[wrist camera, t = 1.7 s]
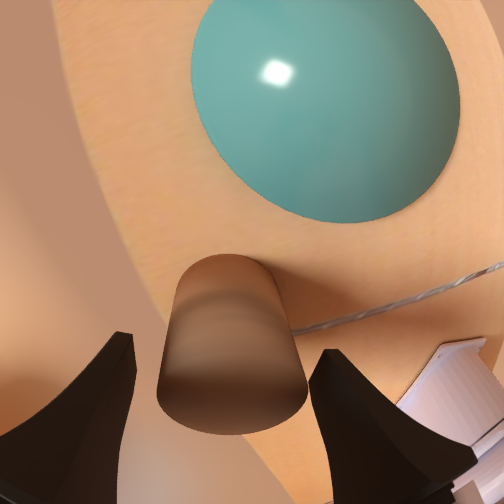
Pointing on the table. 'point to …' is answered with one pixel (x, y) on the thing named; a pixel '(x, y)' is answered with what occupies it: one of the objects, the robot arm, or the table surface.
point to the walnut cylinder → (229, 351)
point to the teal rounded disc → (327, 102)
